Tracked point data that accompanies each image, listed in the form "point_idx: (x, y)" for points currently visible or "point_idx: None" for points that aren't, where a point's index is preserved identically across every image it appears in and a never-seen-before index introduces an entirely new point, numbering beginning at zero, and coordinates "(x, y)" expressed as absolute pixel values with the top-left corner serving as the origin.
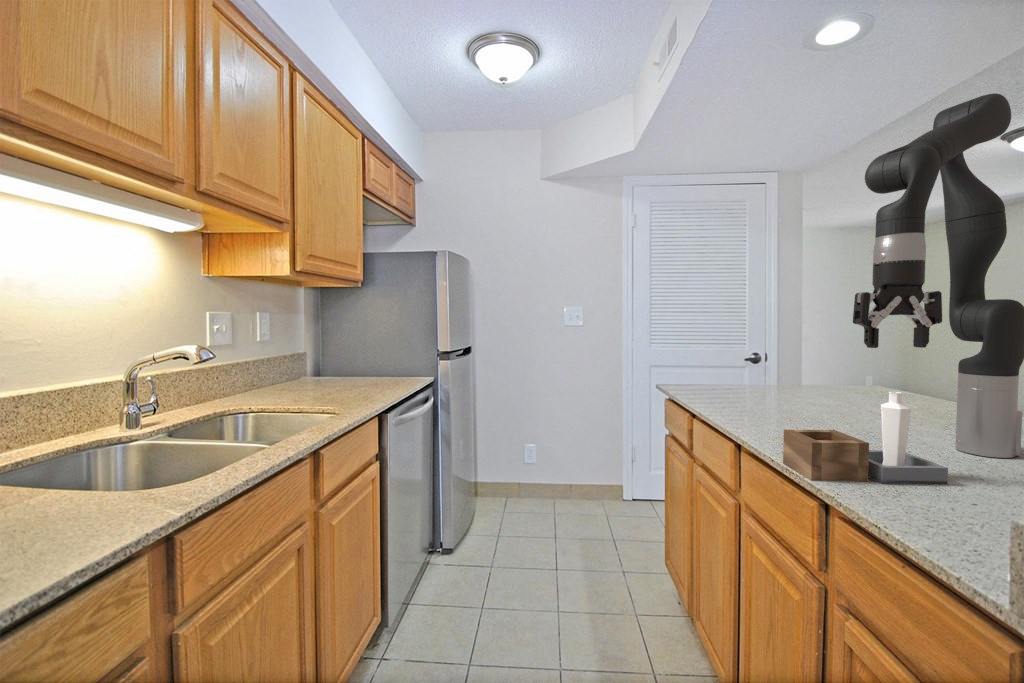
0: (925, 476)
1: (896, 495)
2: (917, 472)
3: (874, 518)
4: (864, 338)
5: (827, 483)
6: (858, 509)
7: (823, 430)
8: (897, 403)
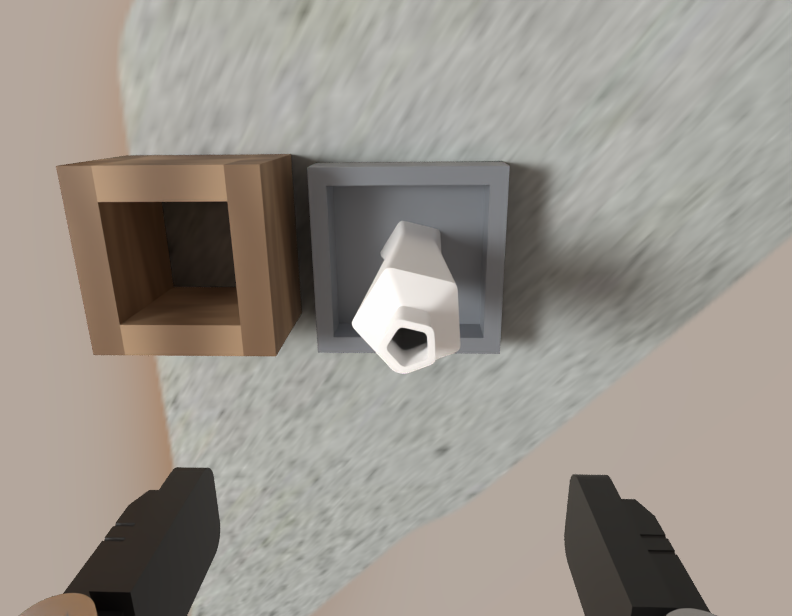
0: None
1: (307, 406)
2: None
3: None
4: (115, 528)
5: None
6: None
7: (209, 176)
8: (404, 350)
